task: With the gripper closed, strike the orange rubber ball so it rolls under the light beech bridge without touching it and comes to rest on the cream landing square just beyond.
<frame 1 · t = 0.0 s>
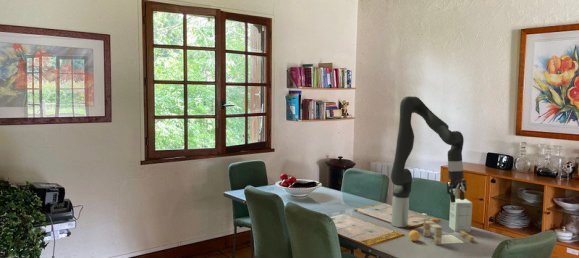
hand: (457, 201, 234), 22 cm above the table, tool pointing down, fingers open, 8 cm apart
bridge: (431, 240, 240), on the table
supplement box: (459, 229, 260), on the table
ball: (414, 235, 238), on the table
stopper wall: (466, 238, 244), on the table
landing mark: (447, 239, 242), on the table
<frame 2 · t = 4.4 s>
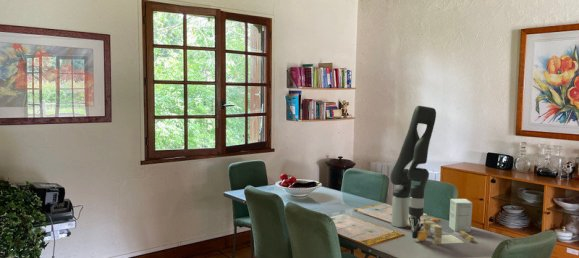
hand: (414, 238, 238), 2 cm above the table, tool pointing down, fingers closed
ball: (421, 235, 239), on the table, touching gripper
everything else where it was.
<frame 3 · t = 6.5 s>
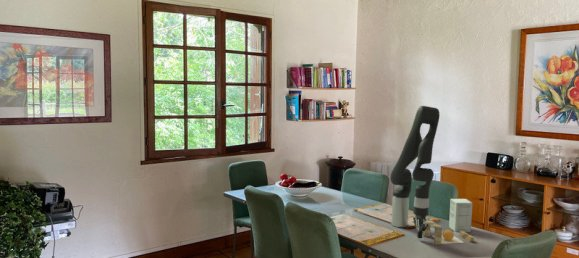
hand: (419, 237, 239), 2 cm above the table, tool pointing down, fingers closed
ball: (448, 235, 240), on the table
everything else where it was.
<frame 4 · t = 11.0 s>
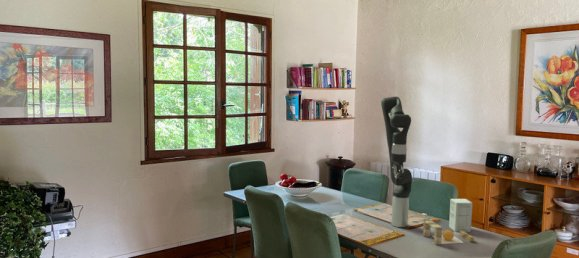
hand: (397, 185, 238), 29 cm above the table, tool pointing down, fingers closed
nothing on the table moved.
at the end: ball 1.3 cm from the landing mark (horizontally); ball never touched bridge; ball at rest at the end (0.0 cm/s) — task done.
